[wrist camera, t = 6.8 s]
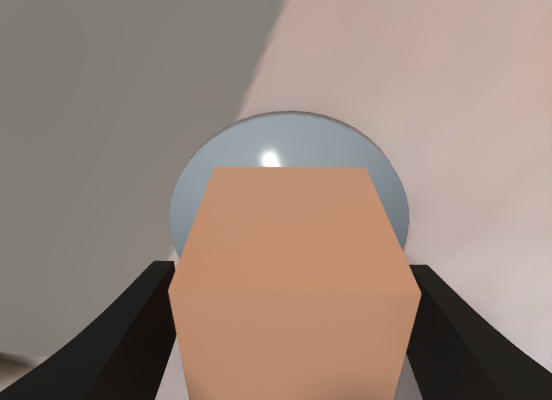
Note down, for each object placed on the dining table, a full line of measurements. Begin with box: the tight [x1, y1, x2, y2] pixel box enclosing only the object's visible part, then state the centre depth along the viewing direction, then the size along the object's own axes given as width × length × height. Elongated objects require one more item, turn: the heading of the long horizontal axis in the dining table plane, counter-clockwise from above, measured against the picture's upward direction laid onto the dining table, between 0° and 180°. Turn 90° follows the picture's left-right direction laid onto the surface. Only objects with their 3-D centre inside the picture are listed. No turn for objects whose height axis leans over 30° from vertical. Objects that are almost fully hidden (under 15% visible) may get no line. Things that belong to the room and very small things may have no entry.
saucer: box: [169, 111, 409, 258], centre depth 15 cm, size 9×9×1 cm
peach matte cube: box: [168, 166, 421, 400], centre depth 12 cm, size 5×5×6 cm
